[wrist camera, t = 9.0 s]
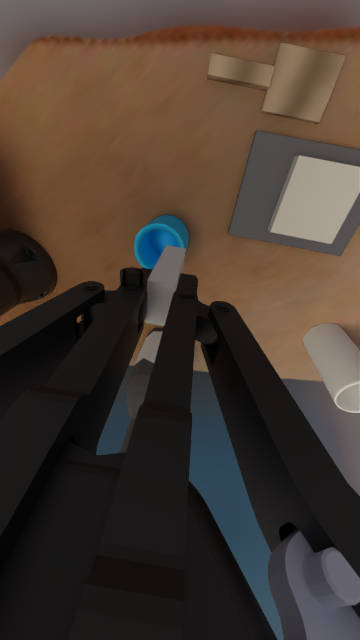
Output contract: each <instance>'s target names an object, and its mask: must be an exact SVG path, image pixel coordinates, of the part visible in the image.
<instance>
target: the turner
mask: <svg viewBox="0 0 360 640" xmlns="http://www.w3.org/2000/svg"><path fill="white" fill-rule="evenodd" d="M345 58H346V56H344V55H339V54H334V53H330V52H325V51H320V50H315V49H310V48H305V47H300V46H296V45H291V44H286V43H280V45H279V47H278V51H277V54H276V58H275V62H274V65H273V66H271V65H266V64H262V63H257V62H252V61H247V60H242V59H237V58H233V57H228V56H223V55H218V54H213V53H211V57H210V63H209V69H208V79H211V80H215V81H220V82H225V83H230V84H235V85H240V86H245V87H249V88H254V89H259V90H264V91H266V94H265V98H264V101H263V105H262V108H261V112H262V113H267V114H272V115H277V116H282V117H287V118H291V119H296V120H301V121H306V122H311V123H316V124H317V123H319V122H320V120H321V118H322V115H323V113H324V111H325V108H326V106H327V103H328V101H329V98H330V96H331V93H332V91H333V88H334V86H335V83H336V81H337V78H338V76H339V73H340V71H341V68H342V66H343V63H344V61H345Z"/></svg>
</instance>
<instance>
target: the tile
mask: <svg viewBox="0 0 360 640" xmlns="http://www.w3.org/2000/svg"><path fill="white" fill-rule="evenodd" d="M359 193H360V167H358V166H352V165H347V164H342V163H337V162H332V161H326V160H321V159H316V158H311V157H305V156H300V155H298V156H294V159H293V161H292V164H291V167H290V170H289V172H288V175H287V178H286V180H285V183H284V186H283V189H282V191H281V194H280V197H279V199H278V202H277V205H276V208H275V210H274V213H273V216H272V218H271V221H270V224H269V227H268V230H269V231H270V232H272V233H278V234H283V235H288V236H293V237H298V238H303V239H308V240H313V241H318V242H323V243H328V244H332V242H333V240H334V238H335V237H336V235H337V233H338V231H339V229H340V228H341V226H342V224H343V222H344V220H345V218H346V217H347V215H348V213H349V211H350V209H351V208H352V206H353V204H354V202H355V200H356V198H357V197H358V195H359Z"/></svg>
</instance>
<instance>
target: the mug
mask: <svg viewBox="0 0 360 640" xmlns="http://www.w3.org/2000/svg"><path fill="white" fill-rule="evenodd" d="M188 242H189V235H188V230H187V228H186V226H185V224H184V223H183V222H182V221H181V220H180V219H178V218H176V217H174V216H171V215H162V216H159V217H157V218H155V219H154V220H153V221H151V222H150V223H149V224H147V225H146V226H145V227H143V228H142V229H141V230H140V232H139V233H138V234H137V236H136V239H135V242H134V252H135V255H136V258H137V260H138V262H139V263H140V265H141V266H142V267H143V268H148V269H154V267H155V265H156V263H157V262H158V260H159V258H160V256H161V254H162V252H163V251H164V249H165V247H166V245H167V246H174V247H180V248H186V250H187V247H188ZM186 250H185V253H186Z"/></svg>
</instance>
